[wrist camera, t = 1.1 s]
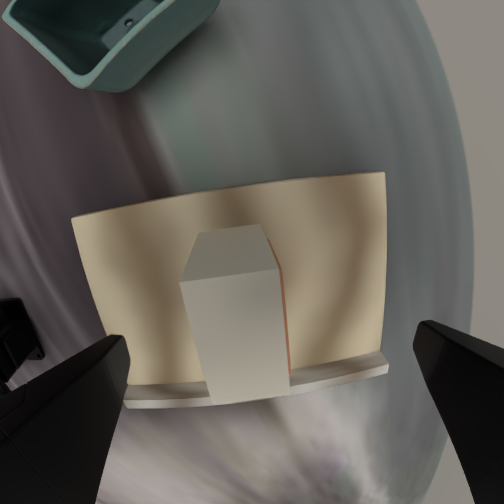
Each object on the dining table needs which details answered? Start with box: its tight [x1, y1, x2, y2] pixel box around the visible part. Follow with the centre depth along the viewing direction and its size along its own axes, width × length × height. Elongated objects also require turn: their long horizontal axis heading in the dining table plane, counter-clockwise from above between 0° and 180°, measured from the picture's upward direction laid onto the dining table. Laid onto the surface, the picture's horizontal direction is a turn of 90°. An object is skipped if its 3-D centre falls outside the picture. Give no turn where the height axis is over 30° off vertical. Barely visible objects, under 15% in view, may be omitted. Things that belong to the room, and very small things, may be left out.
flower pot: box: [2, 0, 220, 92], centre depth 12 cm, size 9×9×9 cm
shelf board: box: [71, 171, 389, 408], centre depth 21 cm, size 22×16×3 cm
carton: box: [179, 224, 291, 404], centre depth 17 cm, size 4×7×8 cm, turn 7°
